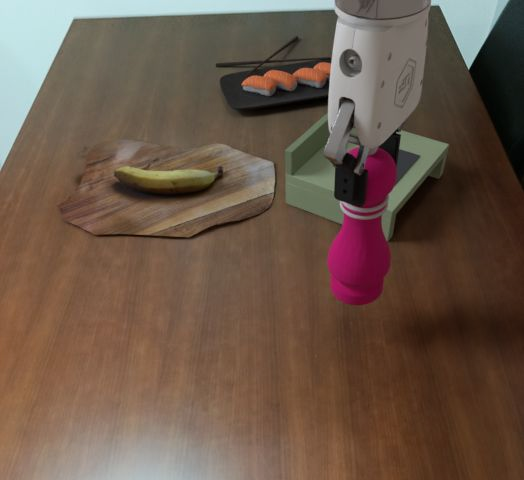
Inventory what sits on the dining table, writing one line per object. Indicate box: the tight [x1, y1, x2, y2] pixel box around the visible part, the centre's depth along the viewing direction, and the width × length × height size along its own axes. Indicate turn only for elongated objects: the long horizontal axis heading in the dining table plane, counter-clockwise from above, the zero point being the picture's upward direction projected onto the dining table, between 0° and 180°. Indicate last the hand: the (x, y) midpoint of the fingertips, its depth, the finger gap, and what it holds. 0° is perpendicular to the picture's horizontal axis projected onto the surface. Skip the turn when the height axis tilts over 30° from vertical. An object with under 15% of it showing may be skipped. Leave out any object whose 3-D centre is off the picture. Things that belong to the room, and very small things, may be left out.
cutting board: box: [55, 138, 276, 238], centre depth 96 cm, size 35×27×4 cm
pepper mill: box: [326, 147, 397, 306], centre depth 63 cm, size 7×7×20 cm
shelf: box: [284, 112, 450, 243], centre depth 91 cm, size 18×20×10 cm
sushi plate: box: [215, 35, 332, 111], centre depth 119 cm, size 29×30×4 cm
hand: (365, 182), depth 59 cm, fingers closed on pepper mill, 6 cm apart
